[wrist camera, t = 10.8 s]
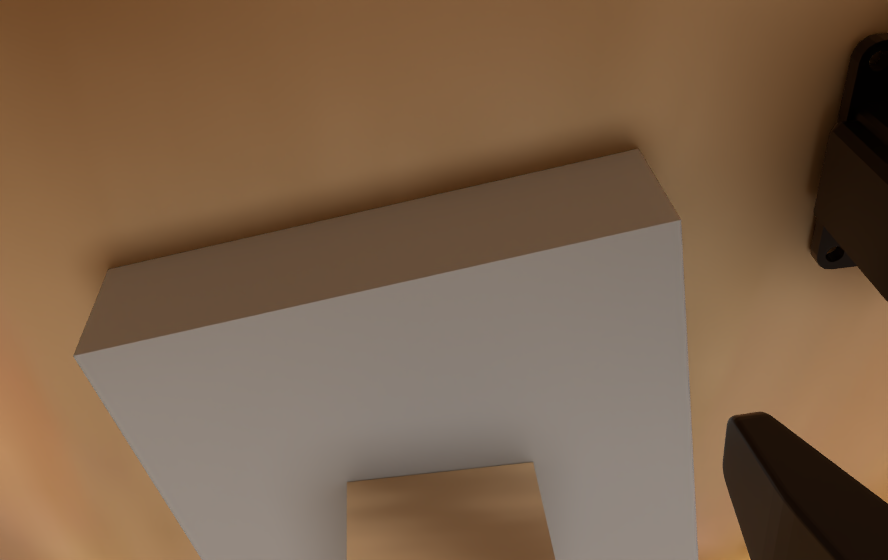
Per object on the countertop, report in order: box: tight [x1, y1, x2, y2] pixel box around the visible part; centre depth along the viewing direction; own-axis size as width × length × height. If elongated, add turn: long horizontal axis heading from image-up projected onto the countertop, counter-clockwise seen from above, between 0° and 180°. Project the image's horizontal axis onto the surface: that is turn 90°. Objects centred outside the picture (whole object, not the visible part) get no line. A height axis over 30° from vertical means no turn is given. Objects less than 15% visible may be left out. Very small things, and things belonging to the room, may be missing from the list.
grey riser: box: [73, 149, 698, 560], centre depth 26 cm, size 14×18×4 cm
